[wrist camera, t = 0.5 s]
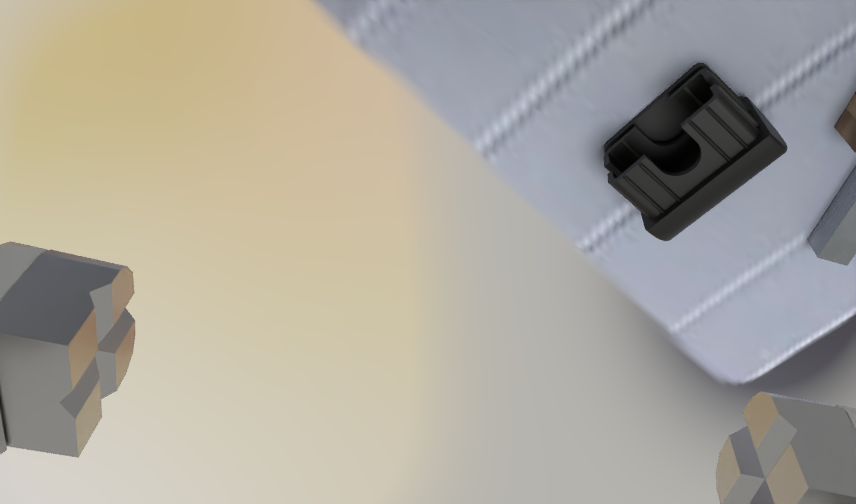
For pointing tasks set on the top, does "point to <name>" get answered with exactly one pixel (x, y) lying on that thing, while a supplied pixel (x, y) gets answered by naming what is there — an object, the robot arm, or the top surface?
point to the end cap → (689, 151)
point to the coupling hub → (848, 124)
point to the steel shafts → (838, 226)
